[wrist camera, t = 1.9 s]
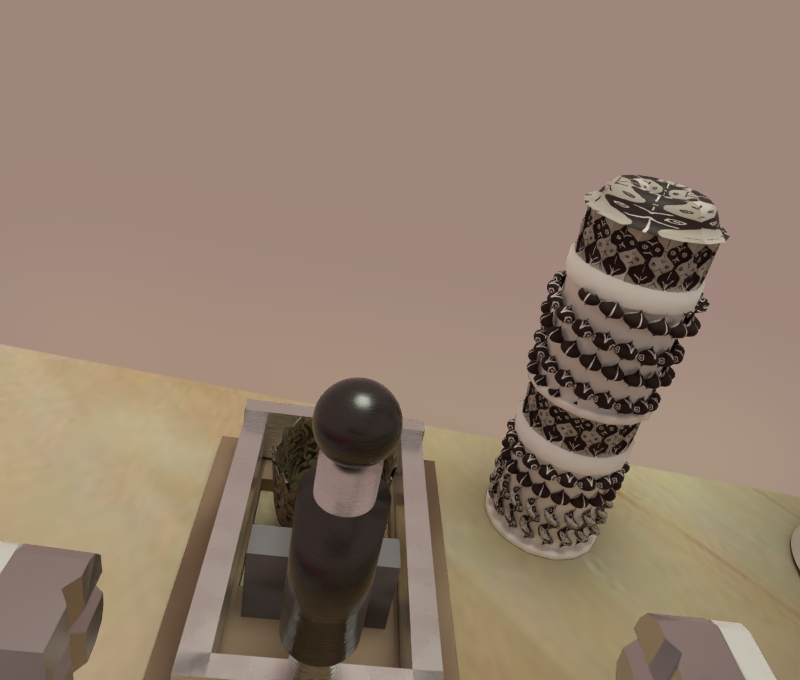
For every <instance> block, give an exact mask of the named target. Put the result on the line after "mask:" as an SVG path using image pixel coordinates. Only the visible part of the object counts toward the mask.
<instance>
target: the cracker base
mask: <svg viewBox="0 0 800 680" xmlns="http://www.w3.org/2000/svg"><path fill="white" fill-rule="evenodd" d="M238 440H239V438H234V437H225V436H222V439H221V442H220V445H219V448H218V451H217V454H216V457H215V461H214V464H213V467H212V470H211V473H210V476H209V479H208V482H207V485H206V488H205V491H204V494H203V497H202V501H201V504H200V507H199V510H198V513H197V516H196V519H195V522H194V525H193V528H192V531H191V534H190V537H189V541H188V544H187V547H186V550H185V553H184V556H183V559H182V562H181V565H180V568H179V571H178V574H177V577H176V581H175V584H174V587H173V590H172V593H171V596H170V599H169V602H168V605H167V608H166V611H165V614H164V618H163V621H162V624H161V627H160V630H159V633H158V636H157V639H156V642H155V645H154V648H153V651H152V654H151V658H150V661H149V664H148V667H147V670H146V673H145V676H144V679H143V680H171V672H172V668H173V665H174V662H175V658H176V655H177V651H178V648H179V644H180V641H181V637H182V634H183V630H184V627H185V623H186V620H187V617H188V613H189V610H190V606H191V603H192V599H193V596H194V592H195V589H196V585H197V582H198V578H199V575H200V572H201V568H202V565H203V561H204V558H205V554H206V551H207V547H208V544H209V540H210V537H211V533H212V530H213V527H214V523H215V520H216V516H217V513H218V509H219V506H220V502H221V499H222V495H223V492H224V488H225V485H226V481H227V478H228V475H229V471H230V468H231V464H232V461H233V457H234V454H235V450H236V447H237V443H238ZM424 470H425V481H426V492H427V502H428V513H429V524H430V535H431V545H432V556H433V567H434V578H435V588H436V599H437V610H438V621H439V631H440V642H441V653H442V664H443V674H444V680H459V671H458V662H457V653H456V645H455V636H454V627H453V619H452V610H451V601H450V592H449V584H448V575H447V566H446V557H445V549H444V540H443V531H442V523H441V514H440V505H439V496H438V488H437V479H436V470H435V461H428V460H424ZM261 489H263V490H272V491H273V471H272V458H269V457H263V458H262V462H261V467H260V471H259V475H258V480H257V484H256V489H255V493H254V497H253V502H252V506H251V510H250V515H249V519H248V523H247V528H246V532H245V536H244V541H243V545H242V549H241V554H240V558H239V562H238V567H237V571H236V575H235V580H234V584H233V588H232V593H231V597H230V602H229V606H228V610H227V615H226V619H225V623H224V628H223V632H222V636H221V641H220V645H219V649H218V654H231V655H243V656H255V657H268V658H280V659H288V657H289V653H288V652H287V651H286V650H285V648H284V647H283V645H282V643H281V640H280V636H279V623H280V616H281V608H282V601H283V593H284V586H285V578H286V571H287V563H288V555H289V548H290V540H291V533H292V528H288V527H278V526H268V525H259V524H253V523H254V519H255V514H256V510H257V505H258V500H259V496H260V491H261ZM389 490H390V493H391V498H392V500H391V507H390V511H389V516H388V529H389V538H384V537H383V542H382V546H381V550H380V555H379V559H378V564H377V568H376V572H375V577H374V581H373V585H372V590H371V594H370V598H369V603H368V607H367V612H366V616H365V620H364V625H363V629H362V633H361V638H360V642H359V644H358V646H357V648H356V650H355V651H354V652H353V654H352V655H351V656H350V657H349V658H347V659H346V660H344V661H343V662H341V664H354V665H366V666H378V667H391V668H400V641H399V611H398V576H399V572H400V568H401V567H400V541H399V539H396V520H395V489H394V477H393V480H392V483H391V485H390V488H389ZM245 560H246V562H245ZM244 564H245V574H244V585H243V586H240V583H241V578H242V573H243V569H244Z"/></svg>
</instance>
